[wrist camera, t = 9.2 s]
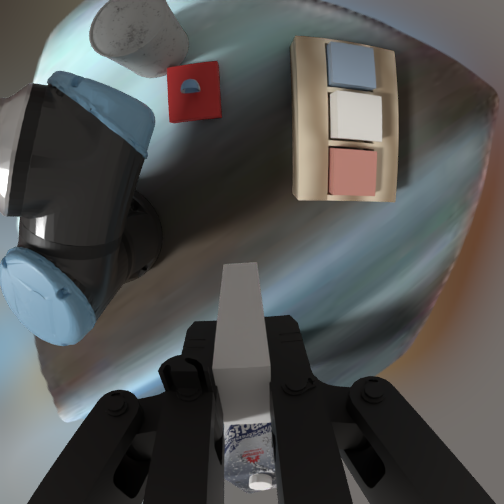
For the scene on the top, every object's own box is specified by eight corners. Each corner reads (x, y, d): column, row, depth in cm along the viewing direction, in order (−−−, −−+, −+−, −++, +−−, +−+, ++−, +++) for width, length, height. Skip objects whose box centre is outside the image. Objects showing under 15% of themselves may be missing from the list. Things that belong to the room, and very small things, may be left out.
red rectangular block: (172, 72, 34) (159, 61, 28) (219, 66, 34) (214, 53, 28) (174, 123, 37) (162, 120, 31) (222, 117, 37) (217, 113, 31)
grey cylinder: (121, 77, 33) (80, 60, 22) (136, 23, 30) (103, -7, 18) (180, 79, 34) (155, 56, 23) (195, 24, 31) (178, -14, 19)
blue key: (326, 86, 32) (333, 82, 29) (324, 48, 29) (330, 41, 27) (367, 91, 32) (376, 88, 29) (364, 54, 29) (373, 48, 27)
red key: (326, 190, 37) (333, 195, 34) (327, 147, 35) (334, 148, 32) (366, 192, 37) (374, 196, 34) (367, 150, 35) (377, 151, 32)
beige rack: (292, 193, 40) (298, 200, 36) (289, 47, 32) (295, 35, 28) (380, 195, 41) (395, 202, 36) (379, 58, 32) (394, 51, 28)
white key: (330, 137, 33) (337, 137, 30) (329, 94, 31) (336, 90, 28) (372, 141, 33) (382, 141, 30) (371, 99, 31) (381, 96, 28)
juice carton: (293, 366, 53) (314, 491, 27) (244, 382, 54) (244, 503, 29) (277, 335, 49) (296, 473, 24) (224, 353, 51) (213, 486, 26)
